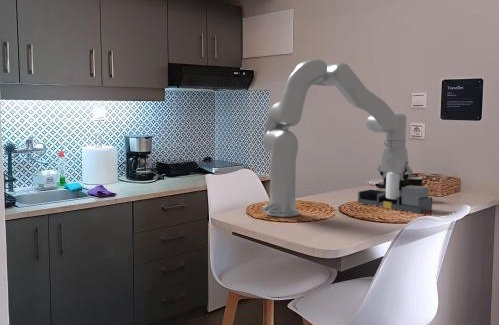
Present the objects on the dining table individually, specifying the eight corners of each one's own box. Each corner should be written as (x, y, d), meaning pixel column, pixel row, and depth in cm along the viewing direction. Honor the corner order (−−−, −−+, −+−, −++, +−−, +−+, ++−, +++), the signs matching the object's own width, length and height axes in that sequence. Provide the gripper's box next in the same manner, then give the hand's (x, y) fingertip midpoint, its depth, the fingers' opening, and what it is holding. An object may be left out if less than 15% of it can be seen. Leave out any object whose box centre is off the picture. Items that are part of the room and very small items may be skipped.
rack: (419, 213, 190) (420, 189, 189) (357, 203, 210) (358, 182, 209) (431, 210, 196) (432, 187, 195) (370, 201, 216) (371, 180, 215)
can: (398, 200, 198) (399, 170, 197) (383, 198, 202) (384, 169, 201) (404, 198, 203) (405, 169, 202) (389, 196, 207) (390, 168, 206)
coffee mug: (419, 199, 223) (420, 176, 222) (424, 202, 214) (425, 179, 213) (392, 198, 224) (393, 176, 223) (396, 201, 215) (397, 178, 214)
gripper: (371, 144, 204) (370, 187, 206) (410, 146, 192) (409, 192, 194) (381, 143, 209) (380, 185, 211) (420, 145, 197) (418, 190, 199)
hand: (394, 188), depth 202 cm, fingers closed on can, 6 cm apart
